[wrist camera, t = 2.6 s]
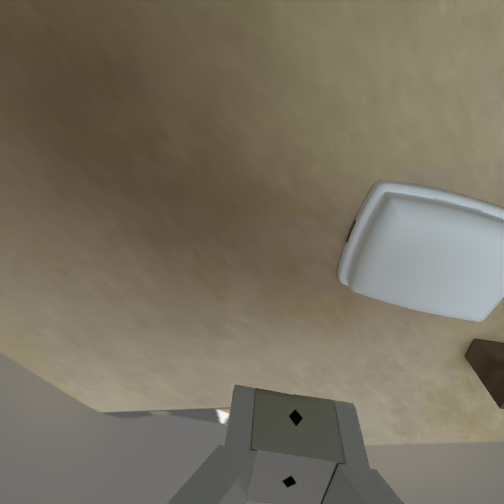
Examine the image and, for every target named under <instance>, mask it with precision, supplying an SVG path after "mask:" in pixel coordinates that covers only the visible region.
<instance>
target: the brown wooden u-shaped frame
mask: <svg viewBox="0 0 504 504" xmlns="http://www.w3.org/2000/svg"><path fill="white" fill-rule="evenodd" d="M465 357H466V359H467V360H468V362H469V363H470V365H471V366H472V368H473V369H474V371H475V372H476V374H477V375H478V377H479V378H480V380H481V381H482V383H483V384H484V386H485V387H486V389H487V390H488V392H489V393H490V395H491V396H492V398H493V399H494V401H495V402H496V403H497V405H498V406H499V408H502V409H504V343H498V342H491V341H485V340H478V339H474V341H473V343H472V344H471V346H470V348H469V350H468V351H467V353H466V355H465Z"/></svg>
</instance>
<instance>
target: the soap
mask: <svg viewBox="0 0 504 504" xmlns="http://www.w3.org/2000/svg"><path fill="white" fill-rule="evenodd" d="M480 210H481V211H480ZM355 220H356V223H355V225H354V227H353V230H352V232H351V234H350V237H349V239H348V242H345V245H344V248H343V251H342V255H341V258H340V262H339V266H338V270H337V275H338V278H339V281H340V282H341V283H342V284H344V285H346V286H349V287H350V289H351V290H352V291H353V292H356V293H359V294H362V295H364V296H367V297H370V298H374V299H377V300H380V301H383V302H387V303H390V304H394V305H397V306H401V307H405V308H409V309H413V310H417V311H421V312H426V313H431V314H436V315H440V316H446V317H451V318H457V319H463V320H470V321H477V322H482V321H484V319H485V318H486V317H487V316H488V315H489V314H490V313H491V312H492V310H493V309H494V308H495V307H496V306H497V305H498V303H499V302H500V301H501V300H502V298H503V297H504V208H502V207H500V206H497V205H494V204H491V203H488V202H485V201H482V200H479V199H475V198H472V197H469V196H466V195H462V194H458V193H454V192H450V191H446V190H442V189H437V188H433V187H428V186H423V185H417V184H412V183H406V182H399V181H392V180H380V181H378V182H377V183H375V184H374V186H373V187H372V189H371V190H370V192H369V194H368V195H367V197H366V199H365V201H364V203H363V204H362V206H361V208H360V210H359V212H358V214H357V216H356V218H355Z"/></svg>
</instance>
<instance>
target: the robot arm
mask: <svg viewBox="0 0 504 504" xmlns="http://www.w3.org/2000/svg"><path fill="white" fill-rule="evenodd" d="M246 500H247V501H256V502H263V503H271V504H404V503H403V502H402V501H401V500H400V498H399V497H398V496H397V495H396V493H395V492H394V491H393V490H392V488H391V487H390V486H389V485H388V483H386V481H385V480H384V479H383V477H382V476H381V475H380V474H379V472H378V471H377V470H375V469H370V467H369V462H368V459H367V454H366V450H365V446H364V441H363V437H362V433H361V429H360V424H359V420H358V416H357V412H356V408H355V406H354V404H353V403H348V402H342V401H335V400H330V399H323V398H316V397H309V396H302V395H295V394H293V395H292V394H286V393H281V392H275V391H270V390H264V389H259V388H255V389H254V388H252V387H246V386H241V385H235V386H234V390H233V397H232V403H231V409H230V415H229V421H228V427H227V434H226V440H225V446H222V445H219V446H218V447H217V448H216V449H215V450H214V451H213V453H212V454H211V455H210V456H209V457H208V458H207V459H206V461H205V462H204V463H203V464H202V465H201V466H200V467H199V468H198V469H197V470H196V472H195V473H194V474H193V475H192V476H191V477H190V478H189V479H188V481H187V482H186V483H185V484H184V485H183V486H182V487H181V488H180V490H179V491H178V492H177V493H176V494H175V495H174V496H173V497H172V498H171V499H170V501H169V502H168V503H167V504H245V503H246Z"/></svg>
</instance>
